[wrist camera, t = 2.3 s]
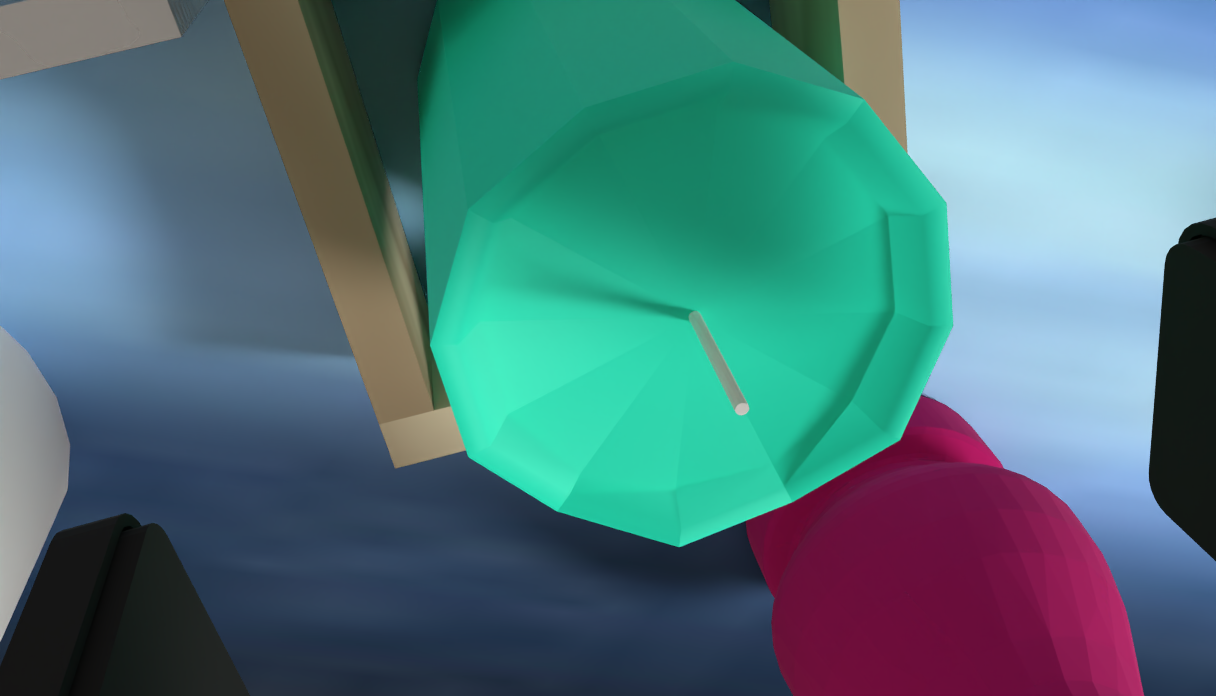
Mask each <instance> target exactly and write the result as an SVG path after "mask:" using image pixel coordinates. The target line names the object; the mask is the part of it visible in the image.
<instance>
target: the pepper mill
mask: <svg viewBox="0 0 1216 696" xmlns="http://www.w3.org/2000/svg"><path fill="white" fill-rule="evenodd" d="M746 528H747V536H748V539H749V542H750V545H751V548H752V551H753V553H754V555H755V557H756V560H757V562H758V564H759V567H760V569H761V571H762V573H763V576H764V578H765V580H766V582H767V585H768V587H769V589H770V591H771V593H772V595H773V596H774V598H775V600H774V603H773V613H772V622H771V623H772V636H773V646H774V650H775V654H776V657H777V661H778V664H779V667H780V670H781V673H782V675H783V677H784V679H785V681H786V683H787V685H788V686H789V688H790V690H791V692H792V694H793V696H1144V694H1143V689H1142V684H1141V679H1140V674H1139V669H1138V664H1137V659H1136V654H1135V650H1134V645H1133V640H1132V635H1131V630H1130V625H1129V621H1128V617H1127V613H1126V609H1125V606H1124V604H1123V601H1122V599H1121V596H1120V594H1119V591H1118V589H1117V586H1116V584H1115V581H1114V579H1113V576H1112V574H1111V571H1110V569H1109V567H1108V565H1107V563H1106V561H1105V559H1104V556H1103V554H1102V553H1101V551H1100V550H1099V548H1098V547H1097V545H1096V544H1095V543H1094V541H1093V540H1092V538H1091V537H1090V535H1089V534H1088V532H1087V531H1086V530H1085V528H1084V527H1083V525H1082V524H1081V522H1080V521H1079V520H1078V518H1077V517H1076V516H1075V514H1074V513H1073V512H1072V511H1071V509H1070V508H1069V507H1068V506H1067V504H1066V503H1064V502H1063V501H1062V500H1061V499H1059V498H1058V497H1057V496H1056V495H1055V494H1053V493H1052V492H1051V491H1050V490H1048V489H1047V488H1046V487H1044V486H1042V485H1041V484H1039V483H1037V482H1035V481H1033V480H1031V479H1029V478H1027V477H1026V476H1024V475H1021V474H1018V473H1015V472H1012V471H1009V470H1006V469H1004V468H1003V466H1002V464H1001V462H1000V461H999V460H998V459H997V457H996V456H995V455H994V454H993V452H992V451H991V450H990V449H989V448H988V446H987V445H986V444H985V443H984V441H983V440H982V439H981V438H980V437H979V435H978V434H977V433H976V432H975V430H974V429H973V428H972V427H971V426H970V425H969V424H968V423H967V422H966V421H965V420H964V419H963V418H962V417H961V416H960V415H959V414H958V413H956V412H955V411H953V410H952V409H951V408H949V407H948V406H946V405H945V404H942V403H940V402H938V401H935V400H933V399H930V398H927V397H923V396H920V398H919V400H918V402H917V405H916V407H915V409H914V411H913V413H912V415H911V417H910V420H909V422H908V424H907V426H906V428H905V430H904V433H903V435H902V437H901V439H900V440H899V441H898V442H896V443H894V444H892V445H891V446H889V447H887V448H886V449H884V450H882V451H880V452H879V453H877V454H875V455H873V456H872V457H870V458H868V459H867V460H865V461H863V462H861V463H860V464H858V465H856V466H854V467H853V468H851V469H849V470H847V471H846V472H844V473H842V474H841V475H839V476H837V477H835V478H834V479H832V480H830V481H828V482H827V483H825V484H823V485H821V486H820V487H818V488H816V489H815V490H813V491H811V492H809V493H808V494H806V495H804V496H802V497H801V498H799V499H797V500H795V501H794V502H792V503H789V504H787V505H784V506H782V507H779V508H777V509H774V510H772V511H769V512H767V513H764V514H762V515H759V516H757V517H754V518H752V519H749V520H747V521H746Z"/></svg>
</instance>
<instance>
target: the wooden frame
mask: <svg viewBox="0 0 1216 696" xmlns="http://www.w3.org/2000/svg"><path fill="white" fill-rule="evenodd" d="M224 2H225V5H226V8H227V10H228V13H229V16H230V18H231V21H232V24H233V27H234V29H235V32H236V35H237V38H238V40H239V43H240V46H241V48H242V51H243V54H244V57H245V59H246V62H247V65H248V68H249V70H250V73H251V76H252V79H253V81H254V84H255V87H256V89H257V92H258V95H259V98H260V100H261V103H262V106H263V109H264V111H265V114H266V117H267V120H268V122H269V125H270V128H271V130H272V133H273V136H274V139H275V141H276V144H277V147H278V150H279V152H280V155H281V158H282V160H283V163H284V166H285V169H286V171H287V174H288V177H289V180H290V182H291V185H292V188H293V191H294V193H295V196H296V199H297V201H298V204H299V207H300V210H301V212H302V215H303V218H304V221H305V223H306V226H307V229H308V232H309V234H310V237H311V240H312V242H313V245H314V248H315V251H316V253H317V256H318V259H319V262H320V264H321V267H322V270H323V272H324V275H325V278H326V281H327V283H328V286H329V289H330V292H331V294H332V297H333V300H334V303H335V305H336V308H337V311H338V313H339V316H340V319H341V322H342V324H343V327H344V330H345V333H346V335H347V338H348V341H349V343H350V346H351V349H352V352H353V354H354V357H355V360H356V363H357V365H358V368H359V371H360V374H361V376H362V379H363V382H364V384H365V387H366V390H367V393H368V395H369V398H370V401H371V404H372V406H373V409H374V412H375V415H376V417H377V420H378V423H379V425H380V428H381V431H382V434H383V436H384V439H385V442H386V445H387V447H388V450H389V453H390V455H391V458H392V461H393V464H394V466H395V468H399V467H403V466H407V465H411V464H415V463H419V462H423V461H427V460H431V459H434V458H438V457H442V456H446V455H450V454H454V453H458V452H462V451H466V449H465V446H464V443H463V440H462V437H461V434H460V431H459V429H458V426H457V423H456V420H455V417H454V414H453V411H452V408H451V405H450V402H449V399H448V396H447V393H446V391H445V388H444V385H443V382H442V379H441V376H440V373H439V370H438V367H437V364H436V361H435V358H434V356H433V353H432V350H431V347H430V334H429V313H428V305H427V302H426V299H425V296H424V293H423V290H422V286H421V283H420V280H419V277H418V274H417V271H416V267H415V264H414V261H413V258H412V255H411V252H410V248H409V245H408V242H407V239H406V236H405V233H404V229H403V226H402V223H401V220H400V217H399V214H398V211H397V207H396V204H395V201H394V198H393V195H392V192H391V188H390V185H389V182H388V179H387V176H386V173H385V169H384V166H383V163H382V160H381V157H380V154H379V150H378V147H377V144H376V141H375V138H374V135H373V131H372V128H371V125H370V122H369V119H368V116H367V112H366V109H365V106H364V103H363V100H362V97H361V94H360V90H359V87H358V84H357V81H356V78H355V75H354V71H353V68H352V65H351V62H350V59H349V56H348V52H347V49H346V46H345V43H344V40H343V37H342V33H341V30H340V27H339V24H338V21H337V18H336V14H335V11H334V8H333V5H332V2H331V0H224ZM769 5H770V14H771V23H772V29H773V30H775V31H776V32H777V33H779V34H780V35H781V36H783V37H784V38H785V39H786V40H788V41H789V42H790V43H792V44H793V45H794V46H796V47H797V48H798V49H799V50H801V51H802V52H803V53H805V54H806V55H807V56H809V57H810V58H811V59H813V60H814V61H815V62H816V63H818V64H819V65H820V66H822V67H823V68H824V69H826V70H827V71H828V72H829V73H831V74H832V75H833V76H835V77H836V78H837V79H839V80H840V81H841V82H843V83H844V84H845V85H846V86H848V87H849V88H850V89H852V90H853V91H854V92H856V93H857V94H858V95H859V96H861V97H862V98H863V99H865V101H866V102H867V103H868V104H869V106H870V107H871V108H872V110H873V111H874V112H875V113H876V115H877V116H878V117H879V118H880V120H881V121H882V122H883V123H884V125H885V126H886V127H887V129H888V130H889V131H890V132H891V134H892V135H893V136H894V137H895V139H896V140H897V141H898V142H899V144H900V145H901V146H902V148H903V149H904V150H905V151H906V153H907V136H906V117H905V97H904V78H903V59H902V39H901V20H900V1H899V0H769Z"/></svg>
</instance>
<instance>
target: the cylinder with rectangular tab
mask: <svg viewBox="0 0 1216 696" xmlns="http://www.w3.org/2000/svg"><path fill="white" fill-rule="evenodd" d="M69 456H70V443H69V439H68V436H67V432H66V429H65V425H64V421H63V418H62V414H61V411H60V407H59V404H58V400H57V397H56V396H55V394H54V393H53V391H52V389H51V388H50V386H49V385H48V383H47V382H46V380H45V378H44V377H43V375H42V374H41V372H40V371H39V369H38V367H37V366H36V364H35V363H34V361H33V359H32V358H31V356H30V355H29V353H28V352H27V350H25V349H24V348H23V347H22V346H21V345H20V344H19V343H18V342H17V341H16V340H15V339H14V338H13V337H12V336H11V335H10V334H9V333H8V332H7V331H6V330H5V329H3V328H2V327H1V326H0V641H1V639H2V637H3V634H4V632H5V630H6V628H7V625H8V623H9V621H10V619H11V616H12V614H13V612H14V610H15V607H16V605H17V603H18V601H19V598H20V596H21V594H22V592H23V589H24V587H25V585H26V583H27V580H28V578H29V576H30V574H31V572H32V569H33V567H34V565H35V563H36V560H37V558H38V556H39V554H40V551H41V549H42V547H43V545H44V542H45V540H46V538H47V536H48V533H49V531H50V529H51V527H52V524H53V522H54V520H55V517H56V515H57V513H58V510H59V508H60V506H61V504H62V501H63V499H64V497H65V494H66V492H67V490H68V474H69Z"/></svg>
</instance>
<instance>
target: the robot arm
mask: <svg viewBox="0 0 1216 696" xmlns="http://www.w3.org/2000/svg"><path fill="white" fill-rule="evenodd" d="M1149 482H1150V486H1151V490H1152V493H1153V495H1154V498H1155V500H1156V501H1157V503H1158V505H1159V506H1160V508H1161V509H1162V510H1163V511H1164V512H1165V514H1166V515H1167V516H1169V517H1170V518H1171V519H1172V520H1173V521H1174V522H1175V523H1176V524H1177V525H1178V526H1179V527H1180V528H1181V529H1182V530H1183V531H1184V532H1185V533H1187V534H1188V535H1189V536H1190V537H1191V538H1192V539H1193V540H1194V541H1195V542H1196V543H1197V544H1198V545H1199V546H1200V547H1201V548H1202V549H1203V550H1205V551H1206V552H1207V553H1208V554H1209V555H1210V556H1211V557H1212V558H1213V559H1214V560H1215V561H1216V218H1213V219H1209V220H1205V221H1202V222H1198V223H1194V224H1191V225H1190V226H1189V227H1187V228H1186V229H1184V231H1183V233H1182V235H1181V236H1180V238H1179V242H1178V244H1176V245H1175V246H1173V247H1172V248H1170V250H1169V252H1168V254H1167V256H1166V261H1165V269H1164V282H1163V295H1162V308H1161V321H1160V334H1159V347H1158V360H1157V373H1156V386H1155V399H1154V412H1153V425H1152V438H1151V451H1150V464H1149ZM0 696H250V695H249V693H248V691H247V689H246V687H245V685H244V683H243V681H242V679H241V677H240V675H239V673H238V671H237V670H236V668H235V666H234V664H233V662H232V660H231V658H230V656H229V654H228V652H227V650H226V648H225V646H224V644H223V643H222V641H221V639H220V637H219V635H218V633H217V631H216V629H215V627H214V625H213V623H212V621H211V619H210V617H209V616H208V614H207V612H206V610H205V608H204V606H203V604H202V602H201V600H200V598H199V596H198V594H197V592H196V590H195V588H194V587H193V585H192V583H191V581H190V579H189V577H188V575H187V573H186V571H185V569H184V567H183V565H182V563H181V561H180V560H179V558H178V556H177V554H176V552H175V550H174V548H173V546H172V544H171V542H170V540H169V538H168V536H167V535H166V533H165V532H164V530H163V529H162V528H161V527H160V526H159V525H158V524H155V523H151V524H148V525H144V526H141V525H140V523H139V522H138V521H137V520H136V519H135V518H134V517H133V516H132V515H129V514H126V513H124V514H121V515H117V516H113V517H110V518H106V519H102V520H99V521H95V522H91V523H88V524H84V525H80V526H76V527H73V528H69V529H65V530H62V531H60V532H58V533H56V535H55V536H54V538H53V539H52V541H51V543H50V545H49V548H48V550H47V553H46V555H45V558H44V560H43V563H42V565H41V568H40V570H39V573H38V575H37V577H36V580H35V582H34V585H33V587H32V590H31V592H30V595H29V597H28V600H27V602H26V604H25V607H24V609H23V612H22V614H21V617H20V619H19V622H18V624H17V627H16V629H15V632H14V634H13V636H12V639H11V641H10V644H9V646H8V649H7V651H6V654H5V656H4V659H3V661H2V663H1V666H0Z"/></svg>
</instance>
